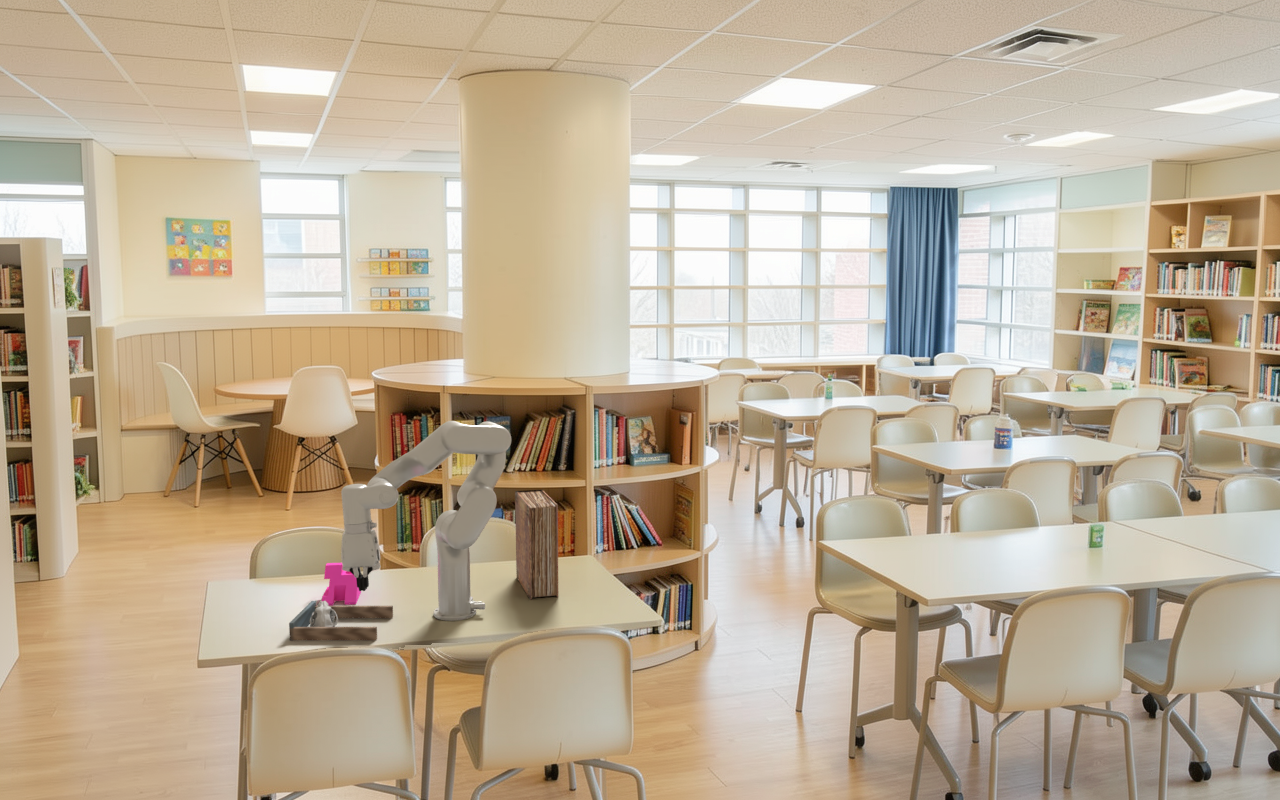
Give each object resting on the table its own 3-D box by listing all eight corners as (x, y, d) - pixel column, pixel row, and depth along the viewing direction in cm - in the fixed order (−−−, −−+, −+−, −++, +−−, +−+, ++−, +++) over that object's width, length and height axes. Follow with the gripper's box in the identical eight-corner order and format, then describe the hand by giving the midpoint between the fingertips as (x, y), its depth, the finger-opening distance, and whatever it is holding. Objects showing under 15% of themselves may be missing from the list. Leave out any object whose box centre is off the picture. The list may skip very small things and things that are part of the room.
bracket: (327, 594, 311) (326, 563, 310) (360, 592, 313) (359, 561, 312) (321, 606, 300) (320, 573, 299) (356, 604, 301) (354, 572, 300)
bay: (393, 617, 290) (392, 600, 289) (376, 640, 270) (375, 623, 270) (312, 617, 289) (311, 600, 289) (289, 640, 270) (289, 623, 270)
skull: (308, 629, 271) (306, 592, 279) (311, 644, 278) (310, 607, 285) (337, 625, 274) (335, 588, 281) (340, 639, 280) (338, 603, 288)
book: (558, 597, 308) (557, 504, 305) (529, 600, 306) (528, 506, 302) (542, 575, 332) (542, 489, 329) (516, 577, 330) (515, 490, 326)
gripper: (387, 523, 280) (392, 584, 283) (335, 525, 280) (341, 586, 283) (380, 530, 273) (385, 592, 275) (327, 532, 273) (333, 595, 275)
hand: (363, 589), depth 279 cm, fingers closed
